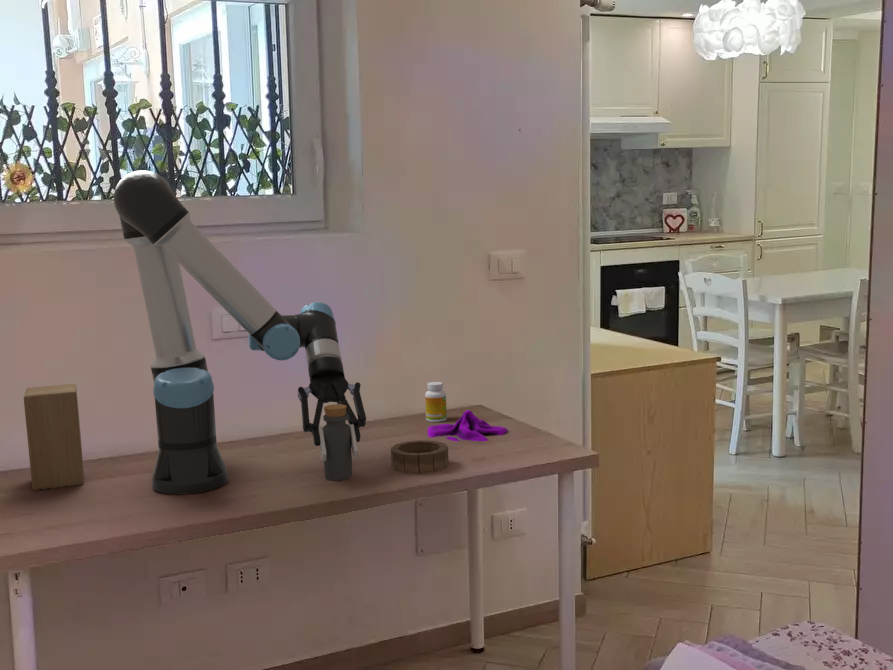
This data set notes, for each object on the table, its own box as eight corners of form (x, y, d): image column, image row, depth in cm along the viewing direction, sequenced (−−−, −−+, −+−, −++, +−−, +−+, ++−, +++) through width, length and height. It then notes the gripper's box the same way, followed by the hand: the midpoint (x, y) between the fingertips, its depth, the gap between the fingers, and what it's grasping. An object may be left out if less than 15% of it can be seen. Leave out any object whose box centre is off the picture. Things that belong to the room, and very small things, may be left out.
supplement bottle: (446, 422, 248) (445, 384, 246) (425, 422, 248) (424, 385, 246) (447, 417, 253) (445, 380, 252) (426, 417, 253) (425, 381, 252)
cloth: (412, 434, 238) (411, 410, 238) (470, 422, 249) (470, 398, 249) (468, 451, 221) (467, 425, 220) (528, 437, 232) (528, 412, 231)
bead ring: (398, 475, 201) (397, 457, 201) (387, 461, 213) (386, 443, 212) (454, 469, 204) (453, 451, 204) (439, 455, 216) (439, 438, 215)
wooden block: (34, 478, 208) (25, 387, 205) (84, 472, 211) (76, 383, 208) (32, 491, 199) (23, 396, 196) (84, 484, 202) (75, 391, 199)
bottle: (319, 478, 201) (315, 408, 199) (334, 471, 206) (331, 402, 204) (342, 482, 198) (339, 410, 196) (358, 474, 203) (354, 404, 201)
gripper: (365, 371, 216) (383, 460, 203) (281, 378, 212) (293, 470, 198) (369, 351, 211) (387, 442, 197) (282, 357, 206) (294, 451, 192)
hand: (340, 456), depth 198 cm, fingers closed on bottle, 6 cm apart
